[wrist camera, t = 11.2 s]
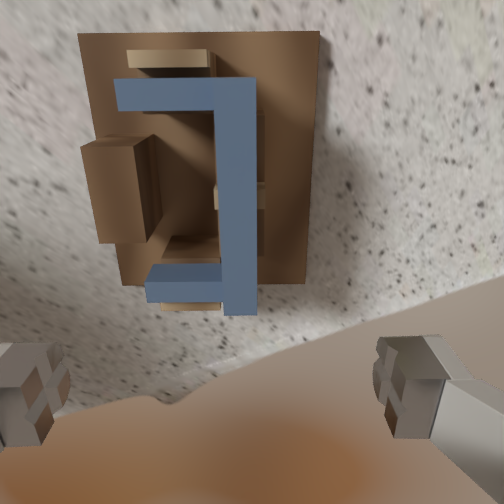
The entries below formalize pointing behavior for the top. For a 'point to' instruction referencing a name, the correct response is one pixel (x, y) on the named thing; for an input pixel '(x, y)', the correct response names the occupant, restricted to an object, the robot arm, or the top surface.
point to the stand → (199, 151)
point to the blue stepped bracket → (229, 188)
